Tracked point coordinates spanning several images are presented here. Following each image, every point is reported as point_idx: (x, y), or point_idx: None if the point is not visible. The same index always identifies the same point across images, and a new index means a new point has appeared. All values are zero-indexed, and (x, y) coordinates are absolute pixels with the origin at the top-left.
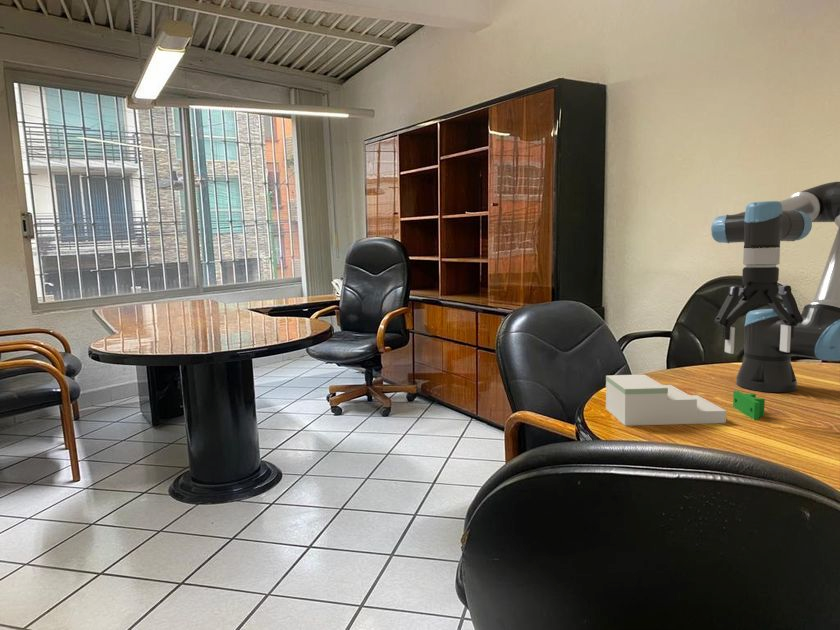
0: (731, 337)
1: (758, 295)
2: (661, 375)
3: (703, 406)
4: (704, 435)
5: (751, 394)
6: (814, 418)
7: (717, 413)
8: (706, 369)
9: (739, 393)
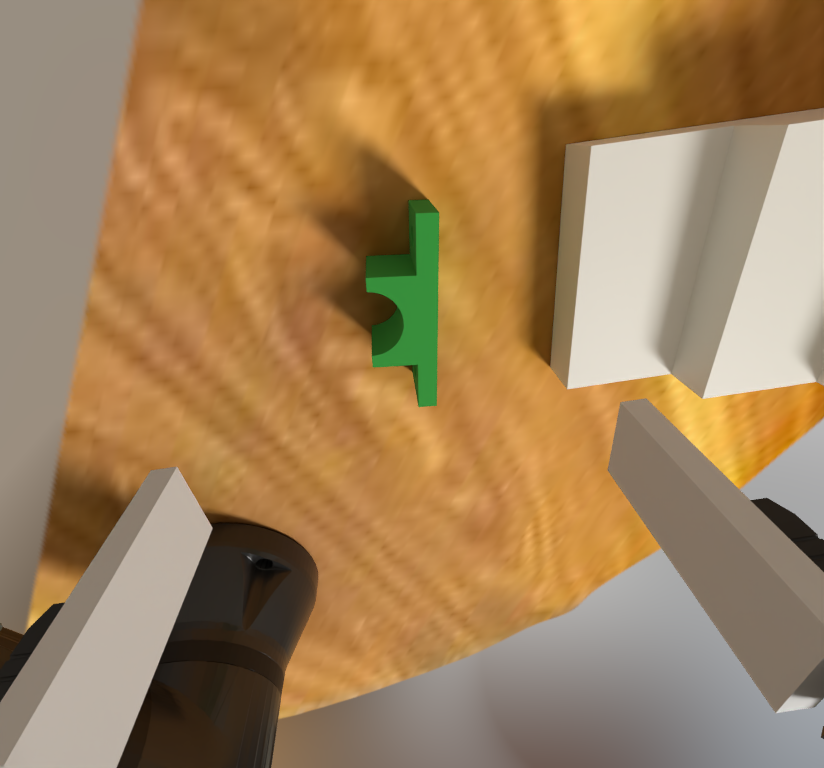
0: (755, 508)
1: None
2: (485, 630)
3: (647, 220)
4: None
5: (389, 355)
6: (173, 234)
7: (626, 139)
8: (345, 679)
9: (432, 367)
